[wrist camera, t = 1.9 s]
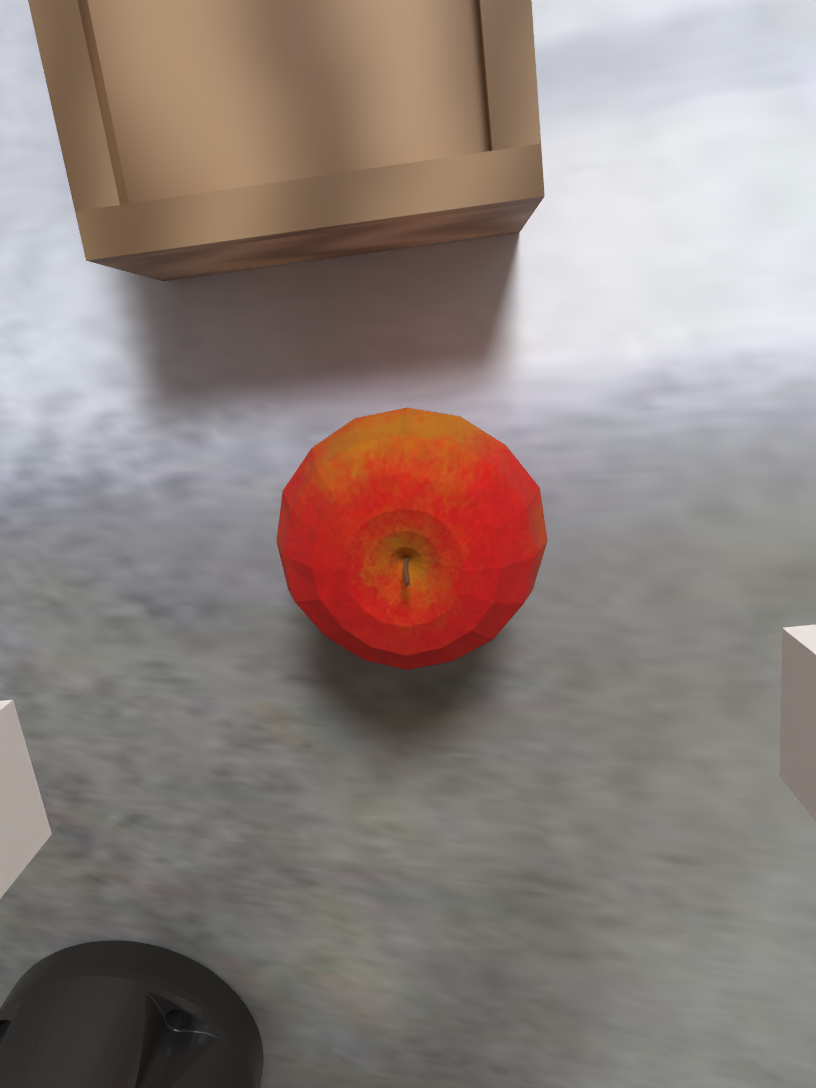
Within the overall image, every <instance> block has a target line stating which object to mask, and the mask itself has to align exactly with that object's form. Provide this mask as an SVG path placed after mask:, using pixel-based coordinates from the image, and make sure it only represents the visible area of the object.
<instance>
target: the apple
mask: <svg viewBox="0 0 816 1088" xmlns="http://www.w3.org/2000/svg"><path fill="white" fill-rule="evenodd" d="M546 544H547V535H546V528H545V521H544V514H543V507H542V501H541V494H540V488H539V486H538V485H537V484H536V483H535V481H534V480H533V479H532V478H531V476H530V475H529V474H528V473H527V471H526V470H525V469H524V468H523V466H522V465H521V464H520V462H519V461H518V460H517V459H516V457H515V456H514V455H513V454H512V452H511V451H510V450H509V449H508V447H507V446H506V445H505V444H503V443H501V442H500V441H498V440H497V439H495V438H493V437H492V436H490V435H489V434H487V433H485V432H484V431H482V430H481V429H479V428H478V427H476V426H474V425H473V424H471V423H470V422H468V421H466V420H465V419H463V418H462V417H460V416H454V415H448V414H442V413H436V412H430V411H424V410H418V409H412V408H403V409H399V410H394V411H389V412H384V413H379V414H374V415H369V416H364V417H360V418H355V419H353V420H352V421H350V422H349V423H348V424H346V425H345V426H343V427H342V428H340V429H339V430H337V431H336V432H334V433H333V434H332V435H330V436H329V437H327V438H326V439H324V440H323V441H321V442H320V443H318V444H317V445H316V446H314V447H313V448H311V450H310V451H309V453H308V454H307V456H306V457H305V459H304V460H303V462H302V463H301V465H300V466H299V468H298V469H297V471H296V472H295V474H294V475H293V477H292V478H291V480H290V481H289V483H288V484H287V485H286V487H285V488H284V490H283V494H282V502H281V510H280V518H279V526H278V534H277V545H278V549H279V553H280V557H281V561H282V566H283V570H284V574H285V578H286V582H287V586H288V590H289V592H290V594H291V596H292V597H293V599H294V601H295V602H296V604H297V605H298V606H299V607H300V608H301V609H302V610H303V612H304V613H305V614H306V615H307V616H308V617H309V618H310V619H311V621H312V622H313V623H314V624H315V625H316V626H317V627H318V629H319V630H320V631H321V632H322V633H323V634H324V635H325V636H326V637H328V638H329V639H331V640H333V641H334V642H336V643H337V644H339V645H341V646H342V647H344V648H345V649H347V650H349V651H350V652H352V653H353V654H355V655H357V656H358V657H360V658H362V659H363V660H368V661H372V662H376V663H380V664H385V665H389V666H393V667H398V668H402V669H406V670H409V669H414V668H420V667H425V666H430V665H435V664H440V663H446V662H451V661H454V660H456V659H458V658H459V657H461V656H463V655H465V654H467V653H469V652H470V651H472V650H474V649H476V648H478V647H480V646H481V645H483V644H485V643H487V642H489V641H491V640H493V639H494V638H495V636H496V635H497V634H498V633H499V632H500V631H501V629H502V628H503V627H504V626H505V625H506V624H507V622H508V621H509V620H510V619H511V618H512V617H513V615H514V614H515V613H516V612H517V611H518V610H519V608H520V607H521V606H522V605H523V604H524V602H525V601H526V599H527V598H528V596H529V595H530V593H531V592H532V590H533V587H534V583H535V580H536V577H537V573H538V570H539V567H540V564H541V560H542V557H543V554H544V550H545V547H546Z"/></svg>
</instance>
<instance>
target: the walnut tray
mask: <svg viewBox="0 0 816 1088" xmlns="http://www.w3.org/2000/svg"><path fill="white" fill-rule="evenodd" d="M28 2H29V6H30V11H31V15H32V20H33V24H34V29H35V33H36V38H37V42H38V47H39V51H40V56H41V60H42V65H43V69H44V74H45V78H46V82H47V87H48V91H49V96H50V100H51V105H52V109H53V114H54V118H55V123H56V127H57V132H58V136H59V141H60V145H61V150H62V154H63V159H64V163H65V168H66V172H67V177H68V181H69V186H70V190H71V195H72V199H73V203H74V208H75V212H76V217H77V221H78V226H79V230H80V235H81V239H82V244H83V248H84V253H85V257H86V261H90V262H94V263H97V264H101V265H105V266H109V267H112V268H116V269H120V270H124V271H127V272H131V273H135V274H139V275H143V276H146V277H150V278H154V279H158V280H161V281H166V280H173V279H181V278H188V277H195V276H203V275H210V274H217V273H224V272H232V271H239V270H246V269H254V268H261V267H268V266H275V265H283V264H290V263H297V262H305V261H312V260H319V259H326V258H334V257H341V256H348V255H356V254H363V253H370V252H377V251H385V250H392V249H399V248H407V247H414V246H421V245H428V244H436V243H443V242H450V241H458V240H465V239H472V238H479V237H487V236H494V235H501V234H509V233H516V232H520V231H521V229H522V228H523V226H524V225H525V224H526V222H527V221H528V219H529V218H530V216H531V215H532V213H533V212H534V211H535V209H536V208H537V206H538V205H539V203H540V202H541V200H542V199H543V198H544V183H543V168H542V153H541V138H540V123H539V108H538V93H537V78H536V63H535V48H534V34H533V19H532V4H531V0H28Z"/></svg>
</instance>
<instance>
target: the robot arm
mask: <svg viewBox="0 0 816 1088" xmlns="http://www.w3.org/2000/svg"><path fill="white" fill-rule="evenodd" d="M780 777H781V778H782V780H783V781H784V782H785V783H786V785H787V786H788V787H789V788H790V790H791V791H792V792H793V793H794V795H795V796H796V797H797V798H798V799H799V801H800V802H801V803H802V804H803V806H804V807H805V808H806V809H807V811H808V812H809V813H810V814H811V816H812V817H813V818H814V819H815V820H816V625H807V626H797V627H786V628H782V675H781V733H780ZM51 835H52V833H51V830H50V826H49V823H48V819H47V816H46V813H45V809H44V806H43V802H42V799H41V795H40V792H39V788H38V785H37V781H36V778H35V774H34V771H33V768H32V764H31V761H30V757H29V754H28V750H27V747H26V743H25V740H24V736H23V733H22V729H21V726H20V722H19V719H18V716H17V712H16V709H15V705H14V702H13V700H6V701H0V898H1V897H2V896H3V895H4V893H5V892H6V891H7V890H8V888H9V887H10V886H11V885H12V883H13V882H14V881H15V880H16V878H17V877H18V876H19V875H20V873H21V872H22V871H23V870H24V868H25V867H26V866H27V865H28V863H29V862H30V861H31V860H32V858H33V857H34V856H35V855H36V853H37V852H38V851H39V850H40V848H41V847H42V846H43V845H44V843H45V842H46V841H47V840H48V838H49V837H50V836H51ZM262 1066H263V1052H262V1045H261V1040H260V1036H259V1032H258V1030H257V1027H256V1024H255V1022H254V1020H253V1018H252V1016H251V1014H250V1013H249V1011H248V1009H247V1008H246V1006H245V1005H244V1003H243V1002H242V1001H241V999H240V998H239V997H238V996H237V994H236V993H235V992H234V991H233V990H232V989H231V988H230V987H229V986H228V985H227V984H226V983H225V982H224V981H222V980H221V979H220V978H219V977H218V976H216V975H215V974H214V973H212V972H211V971H210V970H208V969H206V968H205V967H203V966H202V965H200V964H198V963H197V962H195V961H193V960H191V959H189V958H187V957H185V956H183V955H180V954H178V953H175V952H173V951H170V950H167V949H164V948H160V947H157V946H153V945H148V944H144V943H137V942H129V941H98V942H90V943H84V944H79V945H75V946H72V947H69V948H65V949H63V950H60V951H58V952H55V953H53V954H51V955H49V956H47V957H46V958H44V959H43V960H41V961H39V962H38V963H37V964H35V965H34V966H33V967H31V968H30V969H29V970H28V971H27V972H26V973H25V974H24V975H23V976H22V977H21V978H20V980H19V981H18V982H17V983H16V985H15V987H14V988H13V990H12V991H11V993H10V994H9V996H8V997H7V999H6V1000H5V1002H4V1003H3V1005H2V1006H1V1008H0V1088H258V1086H259V1082H260V1078H261V1073H262Z"/></svg>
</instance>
